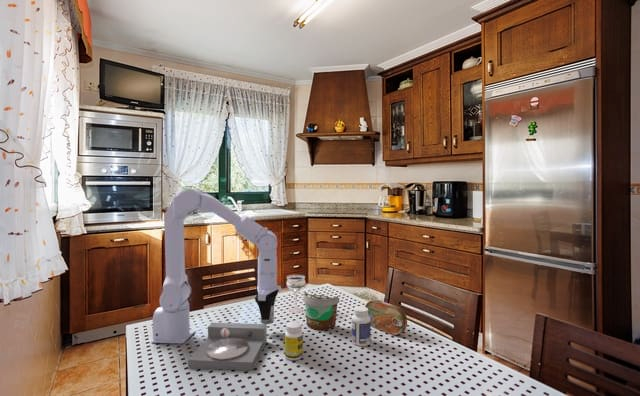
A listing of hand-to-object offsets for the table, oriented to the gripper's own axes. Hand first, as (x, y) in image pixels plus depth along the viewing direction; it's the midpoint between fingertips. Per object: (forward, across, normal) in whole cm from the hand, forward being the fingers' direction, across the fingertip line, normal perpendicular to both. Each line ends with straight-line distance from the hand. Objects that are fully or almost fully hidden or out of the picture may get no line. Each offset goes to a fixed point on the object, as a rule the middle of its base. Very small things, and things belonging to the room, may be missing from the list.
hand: (267, 316), depth 99 cm
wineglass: (+5, +19, -6) cm, 21 cm away
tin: (+5, +5, -36) cm, 37 cm away
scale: (+5, -13, +7) cm, 16 cm away
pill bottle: (+5, -4, -28) cm, 29 cm away
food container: (+5, +5, -15) cm, 17 cm away
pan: (+3, -15, +7) cm, 17 cm away
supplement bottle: (+5, -13, -10) cm, 17 cm away
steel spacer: (+2, 0, 0) cm, 2 cm away
